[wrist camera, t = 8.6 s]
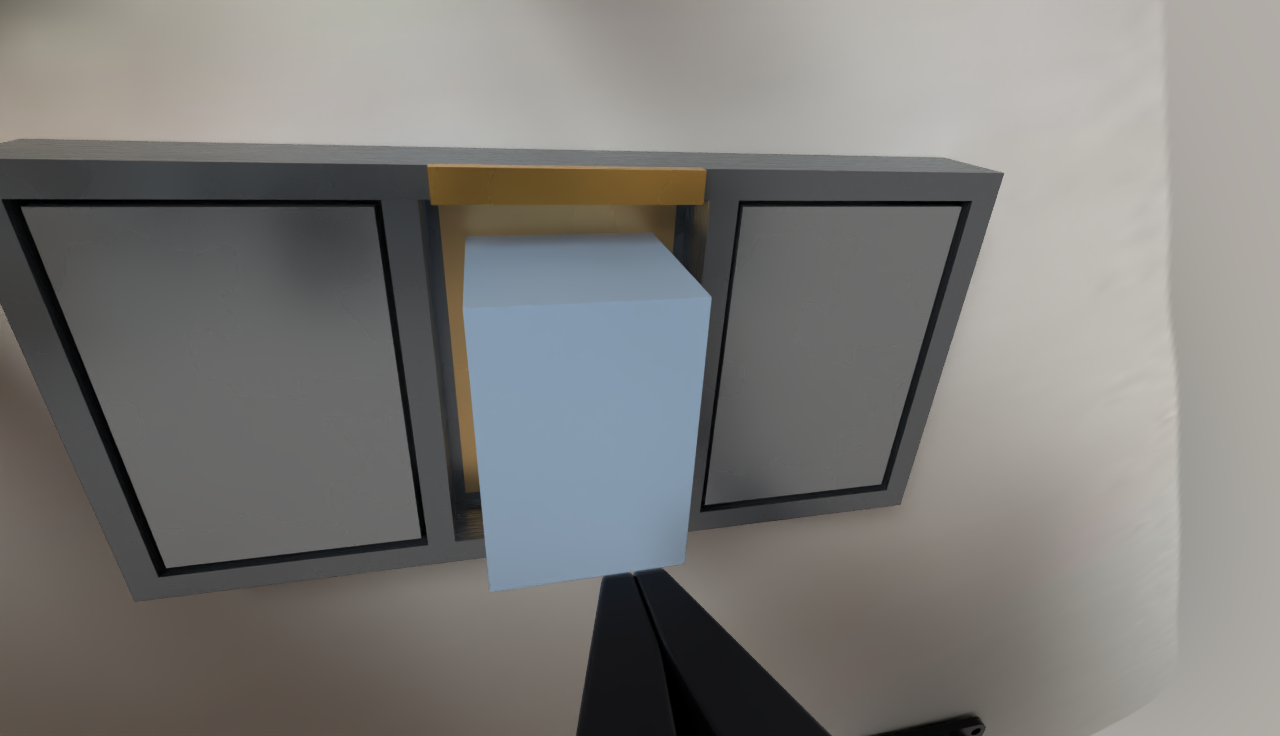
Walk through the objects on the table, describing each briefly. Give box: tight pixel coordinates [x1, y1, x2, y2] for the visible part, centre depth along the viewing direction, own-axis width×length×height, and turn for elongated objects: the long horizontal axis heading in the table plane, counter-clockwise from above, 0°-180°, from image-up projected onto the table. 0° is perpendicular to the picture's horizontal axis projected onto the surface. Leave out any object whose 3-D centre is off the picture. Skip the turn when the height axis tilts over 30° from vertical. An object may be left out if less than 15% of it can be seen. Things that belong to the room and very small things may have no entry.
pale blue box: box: [463, 232, 712, 592], centre depth 13 cm, size 4×6×4 cm, turn 178°
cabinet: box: [0, 139, 1004, 602], centre depth 14 cm, size 19×9×2 cm, turn 87°
